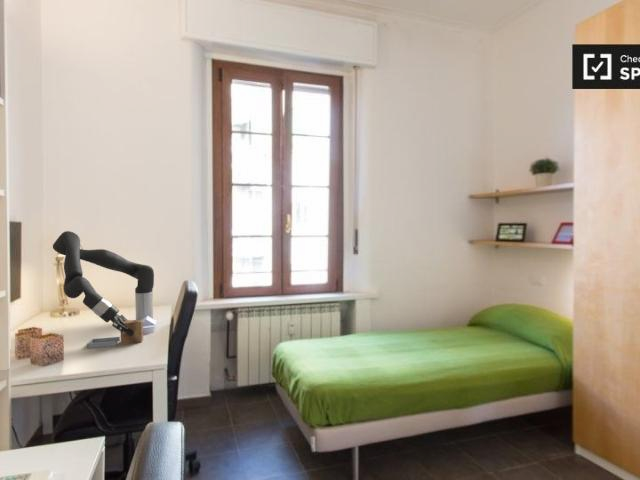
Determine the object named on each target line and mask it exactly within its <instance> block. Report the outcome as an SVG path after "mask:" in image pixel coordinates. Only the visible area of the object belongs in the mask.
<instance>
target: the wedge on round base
mask: <svg viewBox="0 0 640 480" xmlns="http://www.w3.org/2000/svg"><path fill="white" fill-rule="evenodd" d="M156 325H157V320H156V319H154V318H153V319H152V318H151V317H149V316H147V317H145V318H144V319H143V335H150V334H154V333H155V332H156Z"/></svg>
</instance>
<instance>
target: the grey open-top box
mask: <svg viewBox="0 0 640 480" xmlns="http://www.w3.org/2000/svg"><path fill="white" fill-rule="evenodd" d="M117 342H121V336H113V337H111V336H110V337H98V338H91V339H90V340H89V341H88V342H87V344H86V347H87V349H90V348H103V347H114V346H115V345H116V346H117V344H118V343H117Z"/></svg>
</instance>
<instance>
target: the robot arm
mask: <svg viewBox="0 0 640 480" xmlns="http://www.w3.org/2000/svg"><path fill="white" fill-rule="evenodd" d="M52 249H53V251H55V252H57V253H58V254H60V255H63V256H65V257H64V261H63V262H64V263H63V271H64V277H65V278H64V282H63V292H64V294H65V296H67V297H68V298H69V299H76V298H78V297H80V296H81V295H84V298H83V300H82V303H83V305H85V306H86V307H87V308H89V310H91V311H92V312H93V313H94V314H95V315H96V316H97V317H99V318H100V319H101V320H103V321H104V322H105V323H109V322H112V324H111V326H112V327H114V328H115V329H116V330H118V331H119V332H120V333H121V332H126V333H127V334H128V335H129V336H132V335H133V334H134V332H133V331H132V330H130V329H129V328H128V327H127V326H126V325H125V322H124V321H128V319H127V318H126V316H124V315H123V314H120V315H119V312H120V310H119V309H118V308H117V307H116V306H114V305H113V304H112V303H111V302H109V301H108V300H107V299H105V298H104V297H103V296H101V295H100V294H99V293H98V292H97V291H96V290H95V288H94V286H92V284H91V283H90V281H89V280H88V279H87V278H86V277H83V275H84V274H83V273H84V272H83V270H82V269H83V268H82V265H81V261H85V262H88V263H91V264H93V265H97V266H98V267H102V268H103V269H107V270H112V271H114V272H119V273H123V274H126V275H128V276H129V277H132V278H134V279H136V280H137V286H136V287H135V289H134V293H135V294H134V296H135V298H134V301H135V302H134V305H135V320H142V319H144V318H145V317H147V316H149V317H151V318H152V319H154V312H153V311H154V308H153V307H154V305H153V304H154V302H153V298H154V297H153V292H154V291H153V290H154V285H155V283H154V282H155V273H154V272H155V271H154V269H153V268H152V266H150V265H146V264H141V263H137V262H133V261H130V260H128V259H126V258H124V257H123V256H121V255H119V254H117V253H116V252H112V251H110V250H108V249H103V248H98V249H82V248H81V239H80V237H79V235H78V234H77V233H75V232H74V231H69V230H66V231H63V232H62V233H60V235H59V236H58V238H57V239H56V240H55V241H54V243H52ZM121 323H123V324H121ZM122 327H123V328H122Z"/></svg>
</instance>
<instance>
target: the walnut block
mask: <svg viewBox="0 0 640 480" xmlns="http://www.w3.org/2000/svg"><path fill="white" fill-rule="evenodd" d="M127 320H128V319H127ZM124 322H125V325H126V326H127V327H128V328H129V329H130V330H132V331H133V332H134V334H133V335H132V336H129V335H128V334H127V333H126V332H121V331H120V345H126V344H127V345H128V344H130V345H131V344H138V343H139V344H140V343H141V344H142V343H143V341H144V334H143V319H142V320H136V319H131V320H128V321H124ZM121 324H123V323H121ZM122 328H123V327H122Z"/></svg>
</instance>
